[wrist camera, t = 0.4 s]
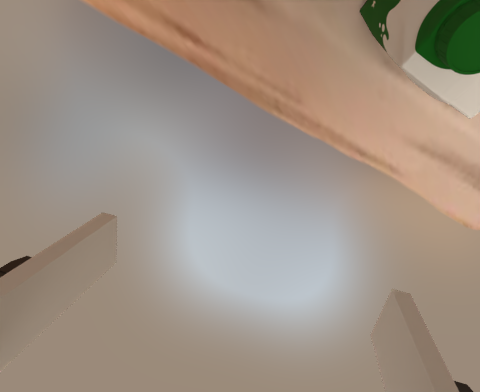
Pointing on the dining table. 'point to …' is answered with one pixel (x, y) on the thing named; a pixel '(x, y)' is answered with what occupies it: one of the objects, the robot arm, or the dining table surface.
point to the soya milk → (433, 45)
